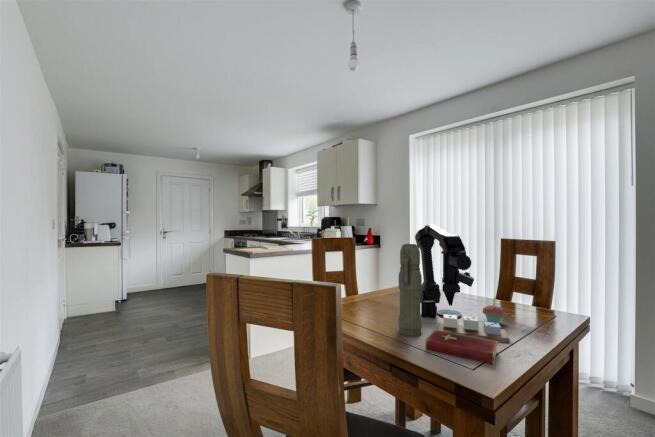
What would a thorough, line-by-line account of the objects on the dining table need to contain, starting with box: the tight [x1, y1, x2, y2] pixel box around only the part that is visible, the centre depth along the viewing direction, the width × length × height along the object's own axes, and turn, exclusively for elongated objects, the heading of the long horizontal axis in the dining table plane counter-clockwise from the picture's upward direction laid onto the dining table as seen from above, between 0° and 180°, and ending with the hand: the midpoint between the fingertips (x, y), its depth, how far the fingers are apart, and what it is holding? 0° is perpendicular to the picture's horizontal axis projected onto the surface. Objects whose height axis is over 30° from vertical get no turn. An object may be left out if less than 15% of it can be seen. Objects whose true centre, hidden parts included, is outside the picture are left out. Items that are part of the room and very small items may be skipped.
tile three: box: [483, 321, 502, 335], centre depth 121 cm, size 5×5×3 cm
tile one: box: [443, 313, 458, 327], centre depth 126 cm, size 5×5×3 cm
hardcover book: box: [424, 329, 499, 366], centre depth 108 cm, size 12×21×4 cm, turn 57°
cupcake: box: [482, 295, 505, 324], centre depth 138 cm, size 9×8×12 cm
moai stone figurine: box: [398, 243, 423, 338], centre depth 125 cm, size 9×12×35 cm
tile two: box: [462, 315, 480, 329], centre depth 124 cm, size 5×5×3 cm
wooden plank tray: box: [436, 322, 511, 343], centre depth 124 cm, size 25×10×2 cm, turn 70°
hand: (450, 305), depth 126 cm, fingers closed
